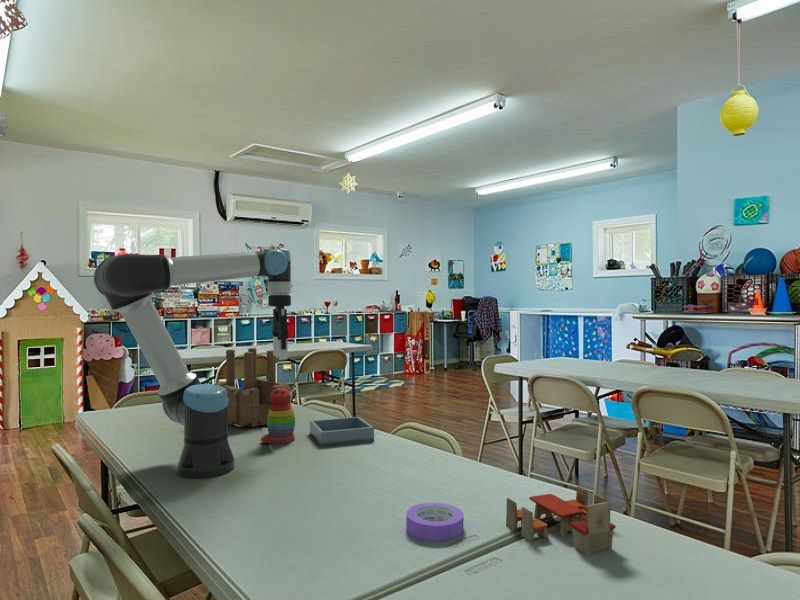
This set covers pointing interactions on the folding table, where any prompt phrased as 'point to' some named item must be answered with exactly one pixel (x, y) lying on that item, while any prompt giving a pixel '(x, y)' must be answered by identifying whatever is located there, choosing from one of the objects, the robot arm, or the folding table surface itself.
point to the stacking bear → (280, 418)
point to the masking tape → (434, 521)
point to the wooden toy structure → (250, 389)
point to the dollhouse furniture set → (567, 519)
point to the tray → (341, 431)
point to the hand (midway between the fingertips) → (280, 357)
